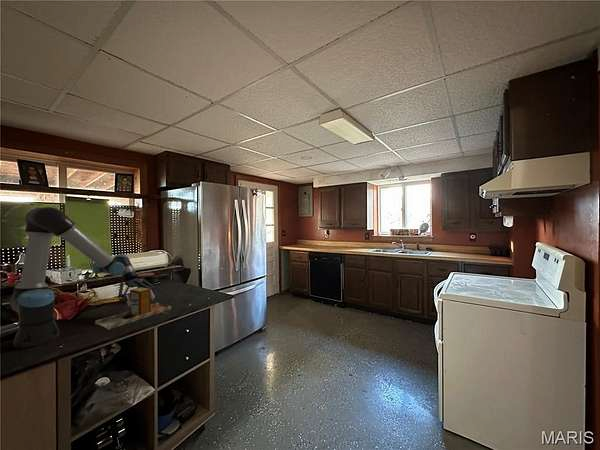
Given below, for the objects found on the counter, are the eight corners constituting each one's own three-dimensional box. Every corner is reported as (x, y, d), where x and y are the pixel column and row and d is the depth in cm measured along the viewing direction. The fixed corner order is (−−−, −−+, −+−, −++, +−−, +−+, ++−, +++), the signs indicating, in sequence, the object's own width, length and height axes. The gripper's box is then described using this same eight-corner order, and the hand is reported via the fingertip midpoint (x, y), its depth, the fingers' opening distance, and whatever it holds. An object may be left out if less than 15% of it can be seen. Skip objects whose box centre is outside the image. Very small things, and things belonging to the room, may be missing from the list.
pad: (107, 328, 130) (107, 328, 130) (97, 324, 135) (97, 323, 135) (130, 321, 139) (130, 320, 139) (120, 317, 144) (120, 317, 144)
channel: (107, 329, 128) (107, 326, 128) (95, 324, 135) (95, 320, 135) (170, 309, 159) (170, 306, 159) (158, 305, 166) (158, 302, 166)
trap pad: (155, 313, 152) (155, 312, 152) (145, 310, 157) (145, 309, 157) (169, 308, 160) (169, 308, 160) (159, 305, 165) (159, 305, 165)
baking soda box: (130, 315, 148) (129, 289, 148) (141, 311, 154) (140, 286, 154) (139, 318, 144) (139, 291, 144) (150, 314, 150) (150, 288, 150)
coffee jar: (149, 295, 189) (149, 272, 189) (157, 297, 184) (157, 273, 183) (134, 299, 180) (134, 274, 180) (142, 301, 174) (141, 276, 174)
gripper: (146, 274, 168) (159, 299, 161) (103, 282, 146) (116, 311, 139) (151, 267, 166) (164, 292, 159) (108, 274, 144) (121, 304, 137)
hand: (142, 301), depth 149 cm, fingers open, 13 cm apart
